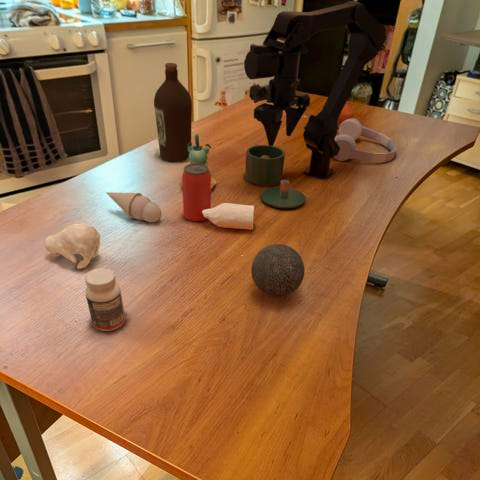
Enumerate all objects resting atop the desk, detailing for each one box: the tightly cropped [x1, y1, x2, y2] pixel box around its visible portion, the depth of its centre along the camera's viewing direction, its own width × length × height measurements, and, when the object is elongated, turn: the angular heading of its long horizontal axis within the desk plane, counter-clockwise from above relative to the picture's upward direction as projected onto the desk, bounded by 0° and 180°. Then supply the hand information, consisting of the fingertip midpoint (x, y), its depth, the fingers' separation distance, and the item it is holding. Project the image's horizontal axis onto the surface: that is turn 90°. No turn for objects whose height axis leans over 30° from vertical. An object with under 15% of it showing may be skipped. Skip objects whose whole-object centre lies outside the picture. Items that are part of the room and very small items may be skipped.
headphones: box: [333, 117, 398, 163], centre depth 147 cm, size 22×7×20 cm
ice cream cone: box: [105, 192, 162, 223], centre depth 108 cm, size 6×6×15 cm
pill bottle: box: [84, 267, 126, 332], centre depth 78 cm, size 6×6×10 cm
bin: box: [244, 144, 286, 187], centre depth 128 cm, size 10×10×8 cm
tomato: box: [337, 102, 354, 129], centre depth 165 cm, size 9×9×8 cm
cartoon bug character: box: [180, 133, 217, 189], centre depth 120 cm, size 10×18×15 cm, turn 171°
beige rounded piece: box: [44, 222, 101, 270], centre depth 93 cm, size 6×8×12 cm
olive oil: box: [153, 62, 193, 163], centre depth 132 cm, size 11×11×25 cm
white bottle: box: [202, 202, 255, 231], centre depth 107 cm, size 6×12×6 cm, turn 85°
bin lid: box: [260, 179, 306, 209], centre depth 118 cm, size 11×11×5 cm
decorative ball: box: [250, 243, 305, 298], centre depth 87 cm, size 10×10×10 cm
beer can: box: [181, 163, 212, 222], centre depth 108 cm, size 7×7×12 cm
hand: (279, 140), depth 121 cm, fingers open, 9 cm apart
